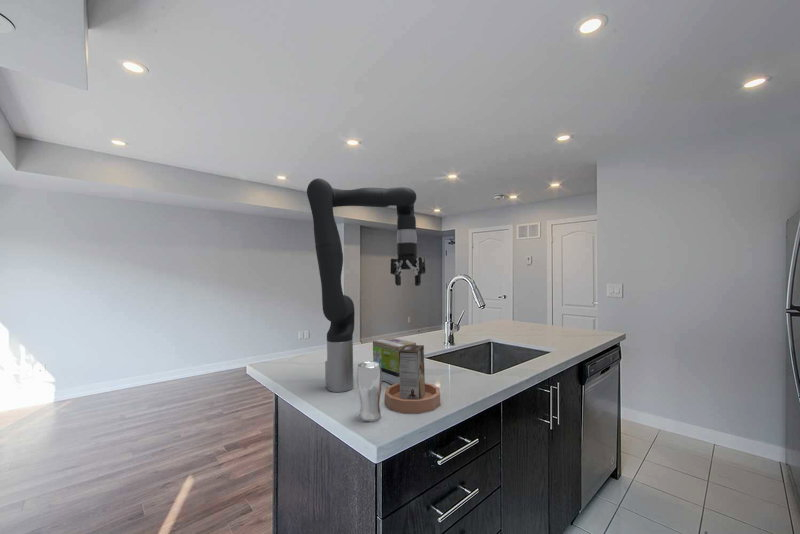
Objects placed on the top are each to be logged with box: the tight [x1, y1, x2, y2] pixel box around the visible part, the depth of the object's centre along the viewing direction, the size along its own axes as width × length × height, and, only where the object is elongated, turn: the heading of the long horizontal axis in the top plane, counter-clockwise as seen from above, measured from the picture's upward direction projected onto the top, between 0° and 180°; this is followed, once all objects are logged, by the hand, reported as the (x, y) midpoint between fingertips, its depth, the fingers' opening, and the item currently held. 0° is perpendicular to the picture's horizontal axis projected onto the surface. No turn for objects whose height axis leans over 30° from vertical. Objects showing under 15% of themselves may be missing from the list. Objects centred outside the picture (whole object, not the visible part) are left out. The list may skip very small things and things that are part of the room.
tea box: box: [372, 336, 417, 385], centre depth 128 cm, size 15×10×15 cm
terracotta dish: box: [384, 382, 441, 414], centre depth 105 cm, size 17×17×4 cm
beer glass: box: [356, 360, 383, 423], centre depth 95 cm, size 7×7×15 cm
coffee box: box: [399, 344, 426, 400], centre depth 105 cm, size 9×6×16 cm
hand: (407, 285), depth 125 cm, fingers open, 8 cm apart
